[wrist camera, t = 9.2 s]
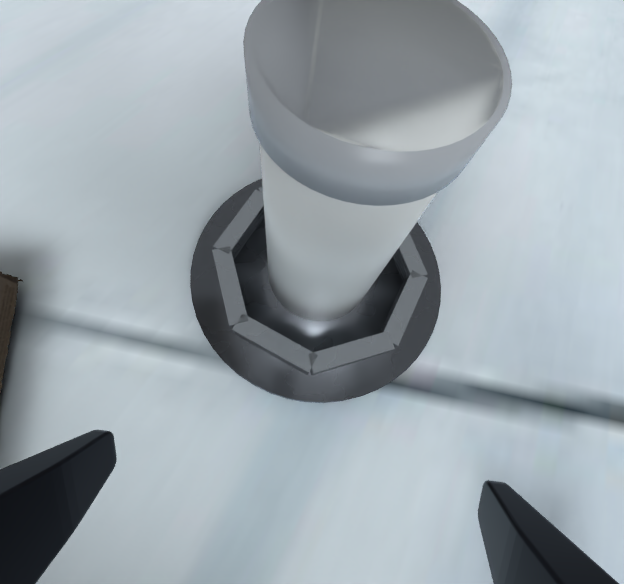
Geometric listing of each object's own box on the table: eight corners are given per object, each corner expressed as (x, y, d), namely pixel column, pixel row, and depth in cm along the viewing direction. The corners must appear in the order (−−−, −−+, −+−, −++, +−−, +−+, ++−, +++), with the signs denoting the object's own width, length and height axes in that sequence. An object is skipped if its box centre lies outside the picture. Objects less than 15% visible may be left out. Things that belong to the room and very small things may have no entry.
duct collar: (222, 440, 17) (215, 443, 15) (174, 199, 22) (165, 179, 20) (474, 359, 20) (495, 353, 18) (385, 161, 24) (393, 140, 23)
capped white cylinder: (312, 347, 18) (376, 213, 6) (243, 263, 20) (186, 19, 8) (392, 281, 20) (563, 80, 8) (324, 209, 22) (383, -56, 10)
